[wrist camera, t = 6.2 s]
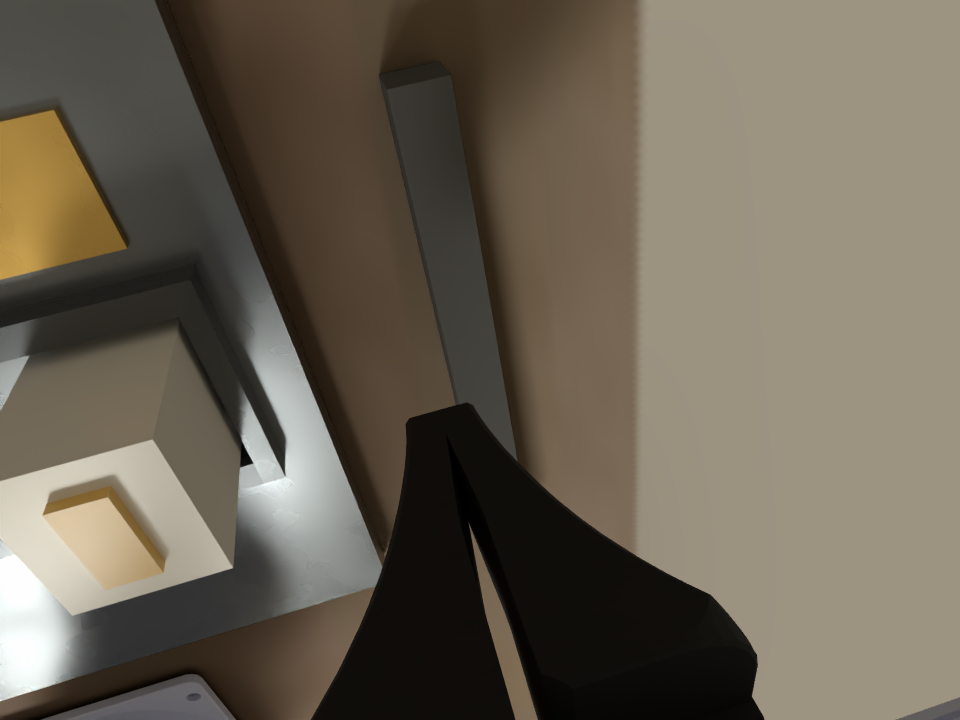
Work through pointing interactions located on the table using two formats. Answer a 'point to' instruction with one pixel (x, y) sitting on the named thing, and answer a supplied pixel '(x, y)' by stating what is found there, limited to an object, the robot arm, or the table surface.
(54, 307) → the panel
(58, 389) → the toggle
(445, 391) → the table surface
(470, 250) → the dark gray bar
